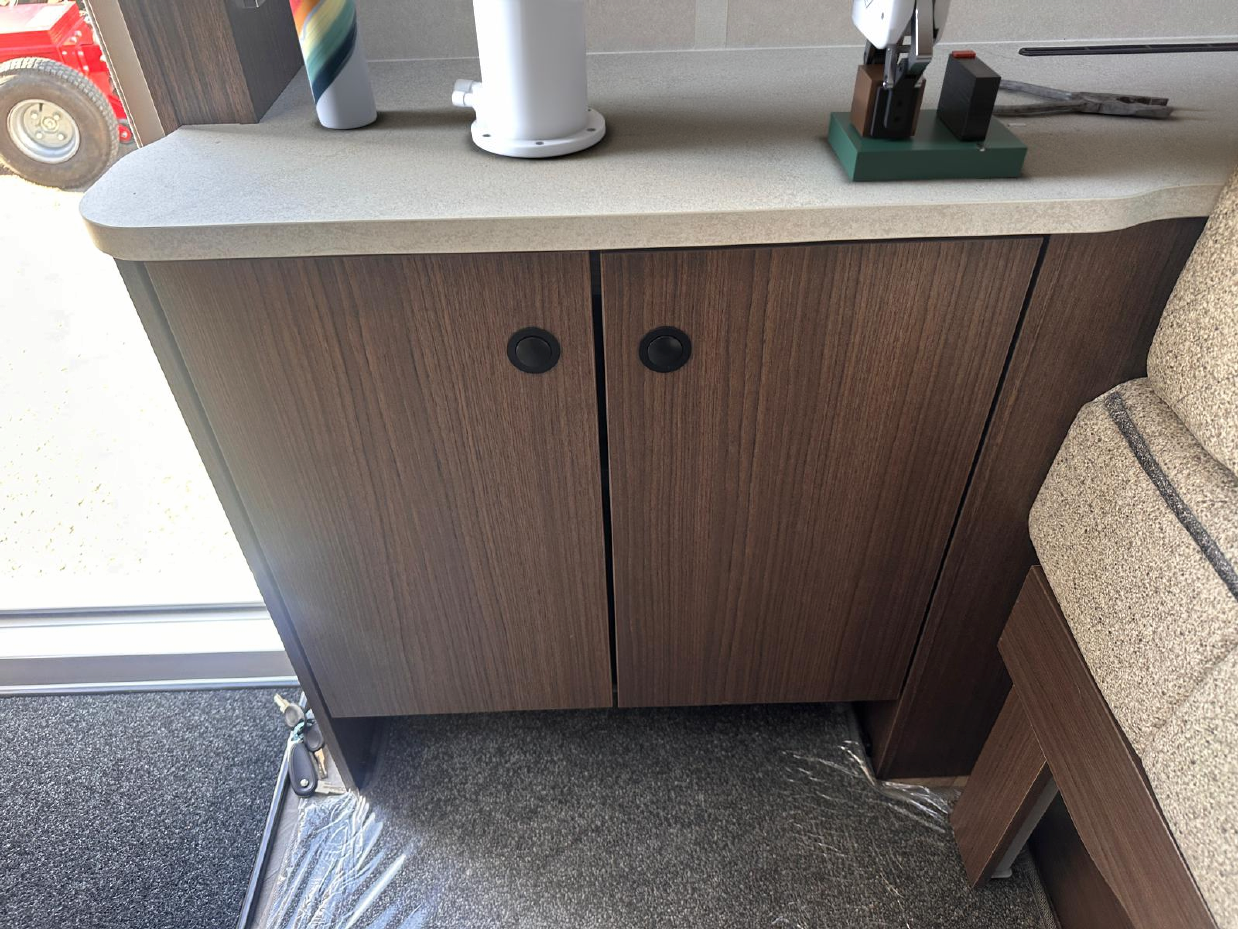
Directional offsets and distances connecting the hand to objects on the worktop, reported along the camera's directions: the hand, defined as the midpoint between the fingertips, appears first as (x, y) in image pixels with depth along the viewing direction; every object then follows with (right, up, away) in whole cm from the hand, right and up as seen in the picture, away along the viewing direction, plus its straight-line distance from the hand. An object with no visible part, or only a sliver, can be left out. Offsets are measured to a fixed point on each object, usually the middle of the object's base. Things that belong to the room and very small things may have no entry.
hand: (881, 123), depth 71 cm
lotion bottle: (-50, +5, +12) cm, 51 cm away
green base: (+4, -2, +2) cm, 5 cm away
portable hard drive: (+7, 0, 0) cm, 7 cm away
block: (0, 0, 0) cm, 0 cm away
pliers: (+21, +7, +13) cm, 26 cm away
